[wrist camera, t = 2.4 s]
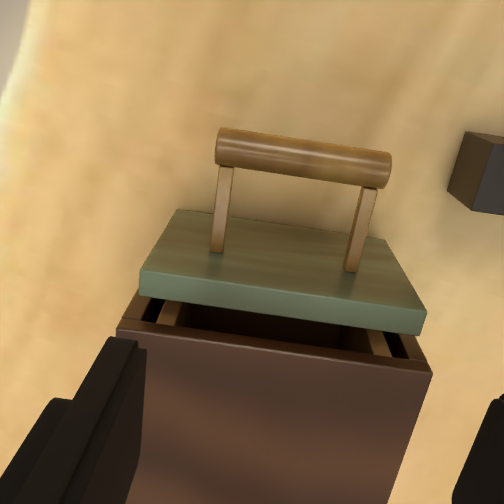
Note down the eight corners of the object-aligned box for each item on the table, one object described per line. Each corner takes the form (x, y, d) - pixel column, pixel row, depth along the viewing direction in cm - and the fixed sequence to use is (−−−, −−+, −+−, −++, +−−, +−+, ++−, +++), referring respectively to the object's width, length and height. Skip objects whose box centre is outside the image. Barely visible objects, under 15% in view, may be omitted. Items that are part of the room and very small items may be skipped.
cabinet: (166, 238, 27) (115, 327, 19) (382, 270, 28) (434, 373, 19) (151, 432, 33) (106, 572, 24) (330, 458, 33) (351, 605, 24)
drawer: (185, 105, 24) (147, 129, 16) (412, 140, 24) (472, 179, 17) (160, 405, 31) (125, 512, 24) (333, 430, 31) (351, 543, 24)
